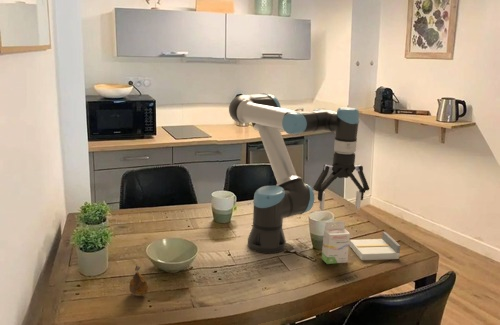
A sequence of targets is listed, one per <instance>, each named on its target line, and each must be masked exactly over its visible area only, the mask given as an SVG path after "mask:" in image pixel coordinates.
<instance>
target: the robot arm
mask: <svg viewBox="0 0 500 325" xmlns="http://www.w3.org/2000/svg"><path fill="white" fill-rule="evenodd" d="M228 113H229V115H230V118H232V120H233V121H235V122H236V123H240V124H251V125H252V127H253V130H255V131H257V132H258V134H259V136H260V140H261V142H262V144H263V148H264V150H265V152H266V155H267V159H268V161H269V164H270V167H271V169H272V171H273V175H274V178H275V180H276V185H273V184H272V185H264V186H261V187H259V188H257V189H256V190H255V192H254V196H253V202H252V203H253V213H252V214H253V215H252V226H251V228H250V229H251V230H250V233H249V234H248V237H247V247H248V248H249V249H250V250H252V251H253V252H256V253H262V254H276V253H279V252H282V251H284V250H285V249H286V247H285V246H286V243H287V241H286V237H285V233H284V229H283V225H284V224H283V223H284V222H283V221H284V219H286V218H289V217H290V218H291V217H293V216H298V215H303V214H305V213H308V212H310V210H312V208H313V206H314V203H315V192H317V200H318V201H319V206H318V207H319V209H320V210H321V211H325V199H326V197H325V196H326V192H325V190H327V188H328V187H329V186H330V185H331V184H332V183H333V182H334V181H335V180H336V179H337V178H339V179H342V178H345V179H347V178H350V179H351V181H352V182H353V183H354V184H355V186H356V187H357V189H358V190H357V189H356V191H355V192H356V193H355V194H356V195H355V203H354V204H355V205H354V207H355V209H357V210H359V211H360V210H361V202H362V201H363V200H364V194H365V193H366V191H370V187H369V184H368V181H367V179H366V175H365V173H364V166H363V165H361V164H360V163H358V164H356V165H355V162H356V151H357V142H358V141H357V140H358V139H357V138H358V130H359V123H360V119H359V118H360V110H359V109H358V108H357V107H356V108H355V107H349V106H348V107H347V106H340V107H338V108H337V111H334V110H329V109H326V108H314V109H313V110H307V111H300V110H299V111H298V110H293V109H288V108H282V107H281V103H280V101H279V100H278V98H277V97H276V96H275V95H273V94H271V93H259V94H253V93H252V94H240V95H237V96H236V97H234V98H233V99H232V100H231V101H230V102H229V106H228ZM281 130H283V131H285V132H286V134H288V135H300V134H308V133H319V132H330V133H334V145H333V147H334V148H333V150H334V152H333V157H332V164H331V165H328V164H324V165H323V168H322V171H321V173H320V174H319V176H318V178H317V180H316V182H315V183H314V185H313V186H310V185H309V184H307V183H304V181H303V178H302V177H301V176H298V175H297V171H296V169H295V166H294V165H293V162H292V158H291V157H290V153H289V150H288V148H287V146H286V143H285V140H284V138H283V135H282V133H281ZM331 170H332V172H331ZM355 170H356V172H357V174H358V177H359V179H360V181H361V183H360V182H359V181H358V179H357V178H356V177H355V175H354V173H353V172H354V171H355ZM329 172H331V173H330V174H329ZM328 174H329V176H328ZM327 176H328V177H327ZM361 184H362V185H361ZM314 191H315V192H314Z"/></svg>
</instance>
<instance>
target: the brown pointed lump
mask: <svg viewBox="0 0 500 325" xmlns="http://www.w3.org/2000/svg"><path fill="white" fill-rule="evenodd" d="M140 269H141V266H139V265H137V264H136V265H135V269H134V271H135V274H133V276H132V278H131V279H130V280H129V291H130V293H132V294H133V295H134V296H136V295H146V294H147V293H148V289H149V286H148V283H147V281H146V279H144V277H143V275H142V274H141V273H140V272H139V271H140Z"/></svg>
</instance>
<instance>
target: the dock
mask: <svg viewBox="0 0 500 325" xmlns="http://www.w3.org/2000/svg"><path fill="white" fill-rule="evenodd" d="M349 248H351V249H352V251H353V252H354V253H355V254H356V255H357V257H358V259H360V260H361V261H374V260H376V261H380V260H399V259H400V252H401V245H400V244H399V243H398V242H397V241H396V240H395V239H394V238H393V237H392V236H391V235H390V234H389V233H388V232H386V231H382V237H381V238H372V239H369V238H366V239H364V238H363V239H350V240H349Z"/></svg>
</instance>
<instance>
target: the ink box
mask: <svg viewBox="0 0 500 325" xmlns="http://www.w3.org/2000/svg"><path fill="white" fill-rule="evenodd" d="M345 221H346V220H345ZM345 221H344V220H343V221H342V220H341V221H328V222H325V225H324V230H323V240H322V249H321V260H322V261H323V263H326V265H330V264H331V265H332V264H333V265H334V264H343V263H344V264H345V263H348V259H349V258H348V256H349V248H350V246H349V243H350V240H351V239H350V238H351V233H350V232H349V231H348V230H347V229H346V228H345V224H346V222H345Z"/></svg>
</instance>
